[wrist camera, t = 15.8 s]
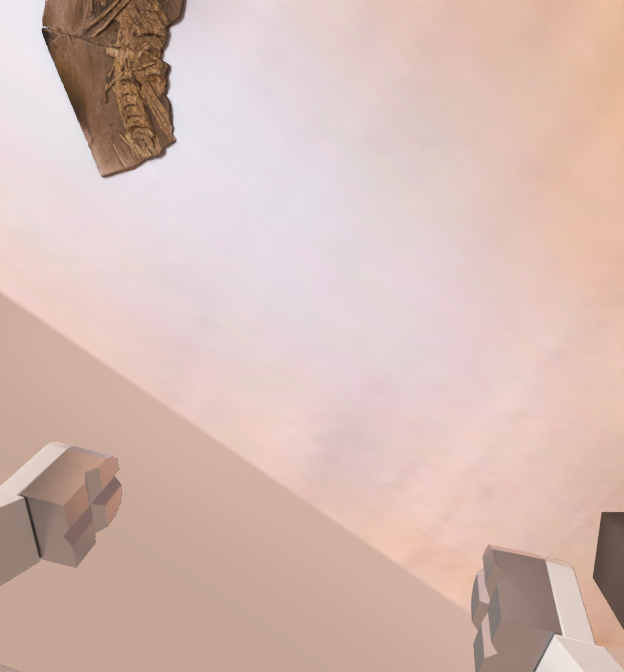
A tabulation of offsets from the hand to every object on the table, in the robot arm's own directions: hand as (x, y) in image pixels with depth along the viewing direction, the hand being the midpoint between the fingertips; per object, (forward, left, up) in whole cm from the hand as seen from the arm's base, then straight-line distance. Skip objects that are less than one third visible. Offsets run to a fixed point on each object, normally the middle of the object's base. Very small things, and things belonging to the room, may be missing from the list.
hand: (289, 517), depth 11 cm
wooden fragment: (-10, -24, -34) cm, 43 cm away
